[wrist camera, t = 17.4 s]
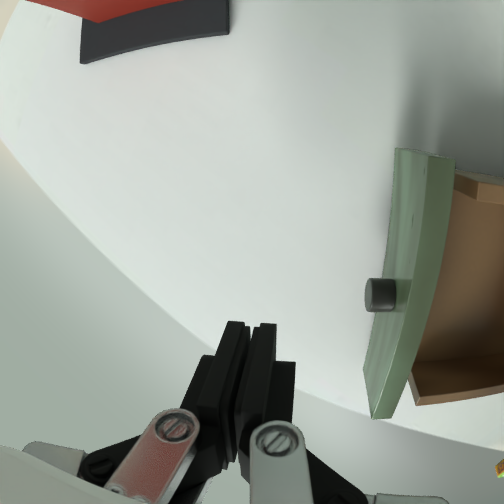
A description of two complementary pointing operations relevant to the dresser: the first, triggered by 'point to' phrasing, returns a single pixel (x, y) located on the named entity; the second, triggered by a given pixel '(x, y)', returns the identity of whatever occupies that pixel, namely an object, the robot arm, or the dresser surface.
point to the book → (101, 7)
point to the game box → (500, 469)
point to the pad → (153, 28)
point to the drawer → (438, 287)
